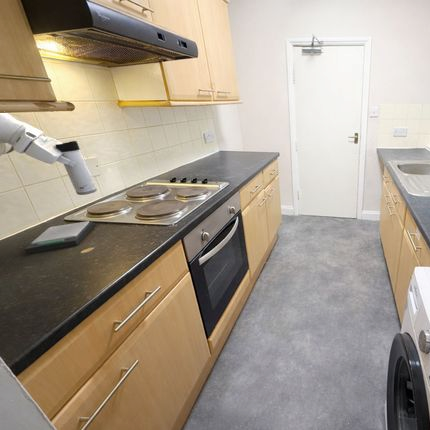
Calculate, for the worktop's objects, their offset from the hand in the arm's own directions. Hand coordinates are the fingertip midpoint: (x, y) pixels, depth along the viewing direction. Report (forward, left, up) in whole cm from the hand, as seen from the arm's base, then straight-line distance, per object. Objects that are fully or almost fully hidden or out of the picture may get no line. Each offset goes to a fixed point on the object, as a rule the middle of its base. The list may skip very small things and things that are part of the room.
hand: (77, 162), depth 101 cm
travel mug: (-1, 0, -12) cm, 12 cm away
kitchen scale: (-8, -13, -24) cm, 29 cm away
